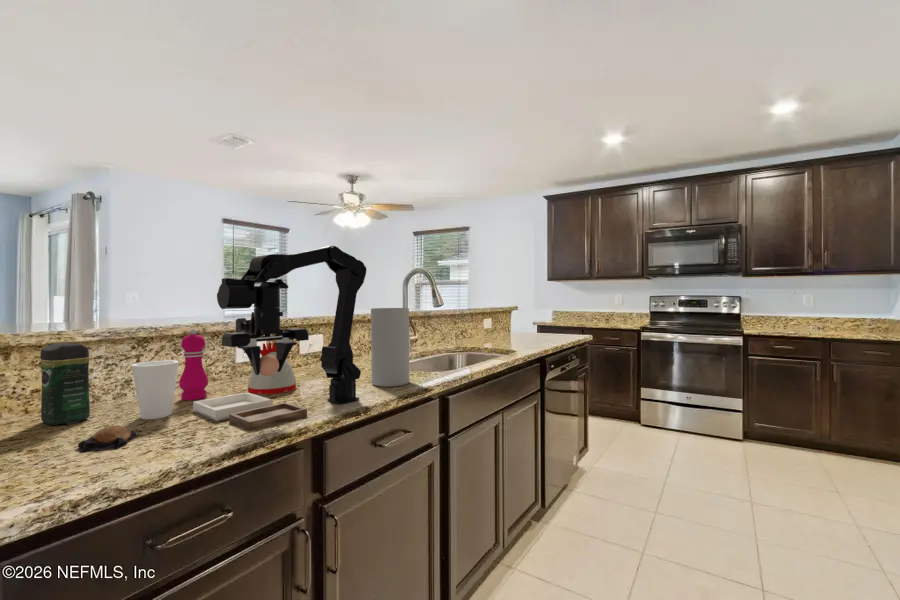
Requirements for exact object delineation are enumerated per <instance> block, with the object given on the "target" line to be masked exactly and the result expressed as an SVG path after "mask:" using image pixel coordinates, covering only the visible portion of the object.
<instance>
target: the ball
mask: <svg viewBox="0 0 900 600" xmlns="http://www.w3.org/2000/svg"><path fill="white" fill-rule="evenodd" d="M278 368H279V361H278V359H277V358H276V357H275V356H273V355H264V356H262V355H261V356H260V371H259V373H260V374H261V375H264V376H271V375H273V374H275V373H276V372H277V370H278Z"/></svg>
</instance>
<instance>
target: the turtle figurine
mask: <svg viewBox="0 0 900 600" xmlns="http://www.w3.org/2000/svg"><path fill="white" fill-rule="evenodd" d="M136 436H137V432H136V431H135V430H130V429H128V428H127V427H125V426H122V425H118V424H117V425H116V424H115V425H109V426H106V427H103V428H101V429H99V430H97V431H96V432H95V433H93V435H91V436H90V437H89V438H87V439H85V440H81V441H80V442H78V444H77V448H78V449H79V451H78V452H79V453H80V454H83V453H95V452H103V451H104V452H105V451H112V450H117V449H119V448H122V447H123V448H124V447H126V446H127V445H128V444H129V443H130V442H131V441H132V440H133V439H135V438H136Z"/></svg>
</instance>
